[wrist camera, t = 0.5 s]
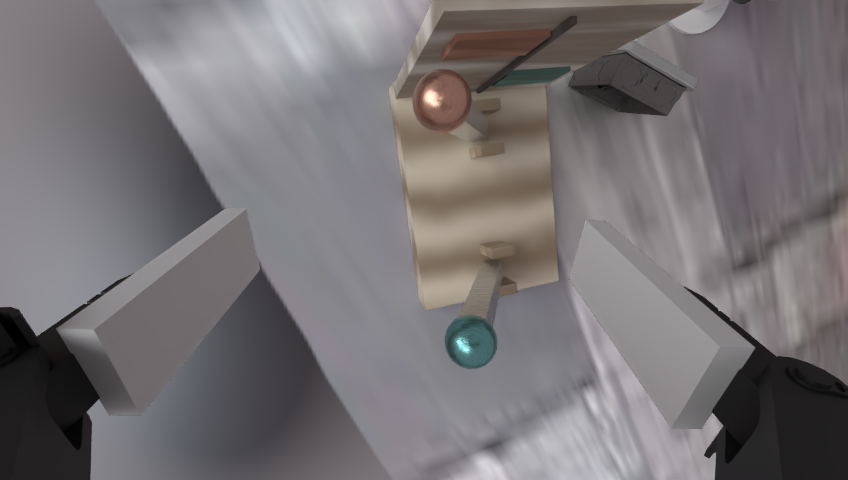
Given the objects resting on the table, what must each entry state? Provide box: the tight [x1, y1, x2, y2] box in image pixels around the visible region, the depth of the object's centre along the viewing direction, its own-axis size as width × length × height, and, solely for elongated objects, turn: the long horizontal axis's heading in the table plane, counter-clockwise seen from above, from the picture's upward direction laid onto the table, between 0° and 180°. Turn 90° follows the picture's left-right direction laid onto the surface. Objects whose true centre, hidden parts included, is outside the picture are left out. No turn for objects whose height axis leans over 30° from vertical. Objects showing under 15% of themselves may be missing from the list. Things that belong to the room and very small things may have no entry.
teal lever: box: [445, 259, 503, 369], centre depth 27 cm, size 3×3×17 cm
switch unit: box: [389, 0, 705, 310], centre depth 29 cm, size 23×16×19 cm
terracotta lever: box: [412, 69, 489, 143], centre depth 24 cm, size 3×3×17 cm
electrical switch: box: [568, 41, 699, 116], centre depth 36 cm, size 9×5×9 cm, turn 71°
